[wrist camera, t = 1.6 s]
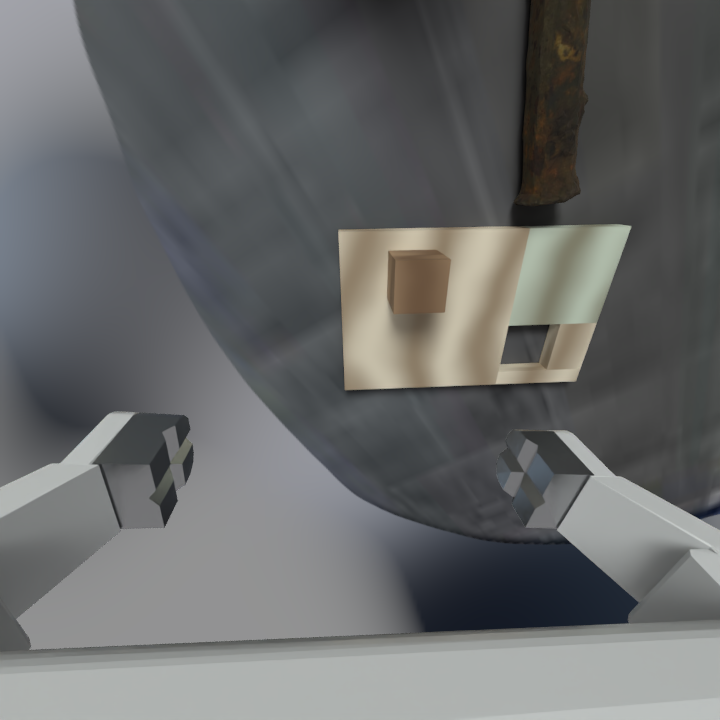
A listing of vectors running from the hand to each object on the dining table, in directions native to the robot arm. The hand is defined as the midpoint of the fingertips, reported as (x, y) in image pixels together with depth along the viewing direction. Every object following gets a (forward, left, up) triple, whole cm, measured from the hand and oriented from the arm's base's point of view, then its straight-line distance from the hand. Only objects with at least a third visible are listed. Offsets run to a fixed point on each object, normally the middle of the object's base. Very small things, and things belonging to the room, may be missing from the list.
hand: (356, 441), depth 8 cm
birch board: (-12, +5, -23) cm, 26 cm away
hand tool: (-13, -13, -23) cm, 30 cm away
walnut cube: (-6, +1, -21) cm, 22 cm away
